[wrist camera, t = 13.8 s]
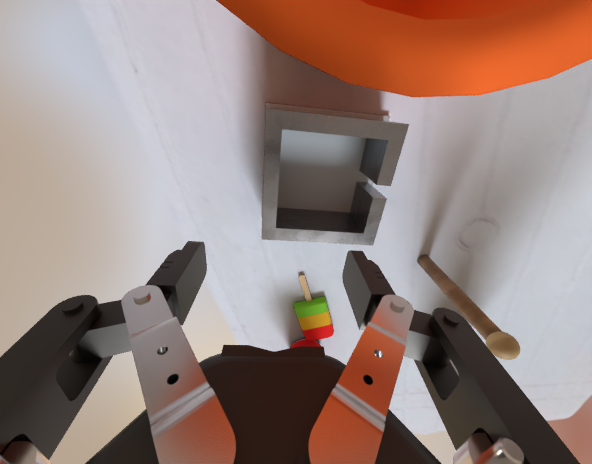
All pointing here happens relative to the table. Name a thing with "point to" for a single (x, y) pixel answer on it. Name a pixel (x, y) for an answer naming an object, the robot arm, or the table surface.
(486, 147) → the table surface
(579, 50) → the flowerpot
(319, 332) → the popsicle
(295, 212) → the grey open box
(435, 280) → the walnut post
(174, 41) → the table surface
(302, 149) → the grey mat
